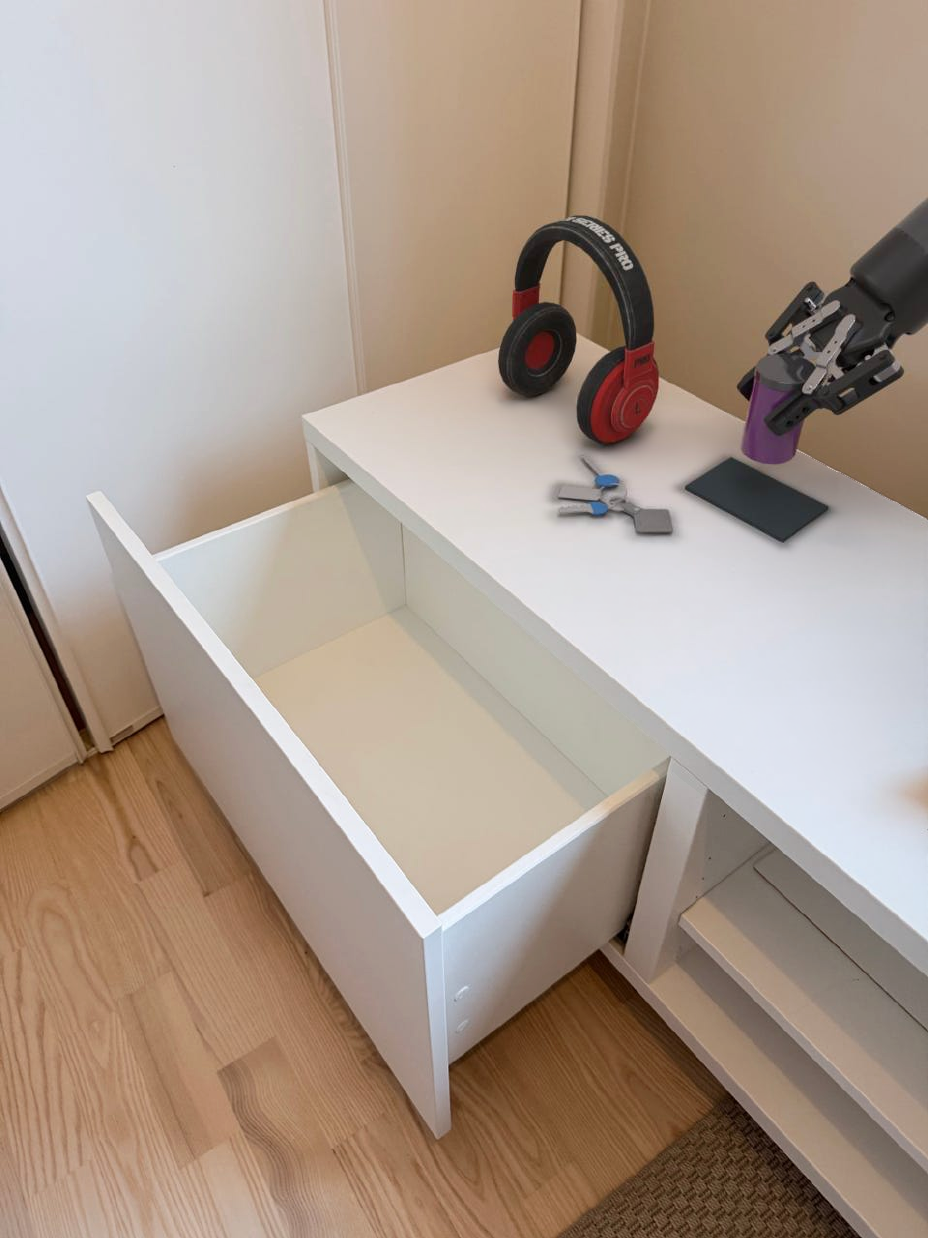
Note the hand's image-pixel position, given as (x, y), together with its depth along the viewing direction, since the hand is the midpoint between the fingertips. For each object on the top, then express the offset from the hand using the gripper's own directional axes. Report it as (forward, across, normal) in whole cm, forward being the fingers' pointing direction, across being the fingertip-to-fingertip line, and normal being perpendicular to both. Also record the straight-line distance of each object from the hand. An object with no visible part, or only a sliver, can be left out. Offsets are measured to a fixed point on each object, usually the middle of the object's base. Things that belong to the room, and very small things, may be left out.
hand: (757, 411), depth 80 cm
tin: (+2, 0, +4) cm, 5 cm away
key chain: (+16, -2, -2) cm, 16 cm away
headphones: (+14, -18, 0) cm, 23 cm away
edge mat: (+6, 0, +8) cm, 10 cm away
